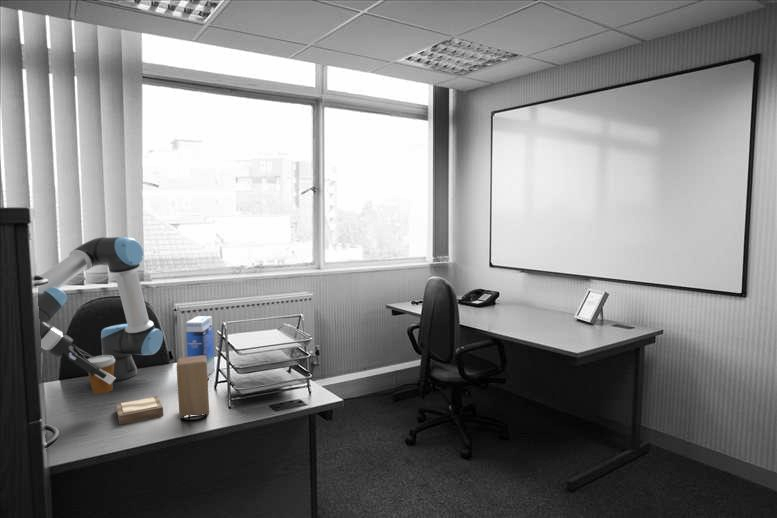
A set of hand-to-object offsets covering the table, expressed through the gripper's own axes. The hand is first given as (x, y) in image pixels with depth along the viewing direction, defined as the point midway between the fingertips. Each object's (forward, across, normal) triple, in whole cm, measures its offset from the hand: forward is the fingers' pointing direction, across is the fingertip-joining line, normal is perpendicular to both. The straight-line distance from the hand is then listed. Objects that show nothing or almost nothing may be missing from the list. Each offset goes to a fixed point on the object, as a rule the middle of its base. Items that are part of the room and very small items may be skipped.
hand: (111, 377), depth 182 cm
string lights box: (+36, -27, +16) cm, 48 cm away
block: (+27, +17, +8) cm, 33 cm away
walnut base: (+15, +6, -4) cm, 17 cm away
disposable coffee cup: (+1, 0, -6) cm, 6 cm away
